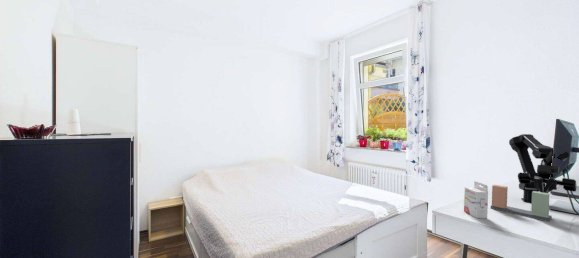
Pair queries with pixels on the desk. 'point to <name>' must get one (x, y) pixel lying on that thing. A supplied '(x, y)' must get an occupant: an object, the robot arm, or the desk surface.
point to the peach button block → (499, 196)
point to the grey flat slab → (521, 212)
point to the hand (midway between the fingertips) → (542, 196)
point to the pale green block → (540, 204)
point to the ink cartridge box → (476, 200)
